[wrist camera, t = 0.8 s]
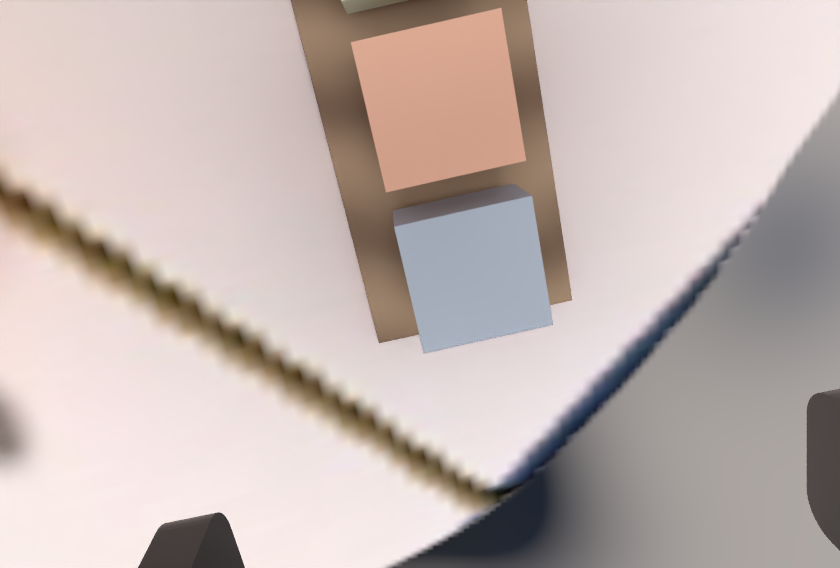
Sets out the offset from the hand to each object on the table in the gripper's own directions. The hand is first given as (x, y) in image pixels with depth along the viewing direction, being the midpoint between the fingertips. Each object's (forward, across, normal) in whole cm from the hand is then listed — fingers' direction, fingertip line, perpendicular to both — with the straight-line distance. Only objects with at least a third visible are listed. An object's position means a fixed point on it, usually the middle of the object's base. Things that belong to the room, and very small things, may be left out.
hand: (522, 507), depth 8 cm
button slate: (+23, -2, +3) cm, 23 cm away
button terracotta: (+23, -1, -5) cm, 23 cm away
